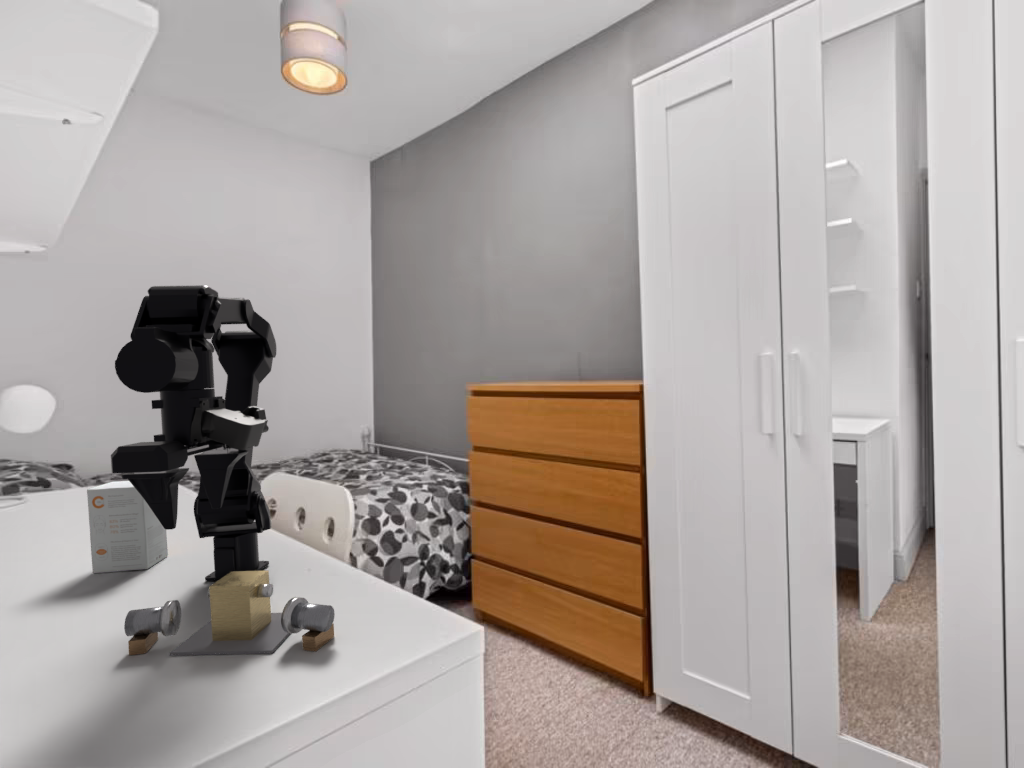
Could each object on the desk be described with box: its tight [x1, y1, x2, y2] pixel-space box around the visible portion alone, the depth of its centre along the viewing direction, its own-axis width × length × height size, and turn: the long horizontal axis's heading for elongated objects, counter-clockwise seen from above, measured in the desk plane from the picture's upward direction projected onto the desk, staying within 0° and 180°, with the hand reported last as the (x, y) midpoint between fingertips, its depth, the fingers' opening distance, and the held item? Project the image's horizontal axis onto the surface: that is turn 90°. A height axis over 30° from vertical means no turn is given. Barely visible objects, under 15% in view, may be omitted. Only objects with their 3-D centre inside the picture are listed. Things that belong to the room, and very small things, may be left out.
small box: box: [86, 480, 169, 574], centre depth 87 cm, size 8×6×13 cm
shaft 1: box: [124, 599, 182, 656], centre depth 60 cm, size 4×4×5 cm
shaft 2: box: [281, 596, 335, 652], centre depth 59 cm, size 4×4×5 cm
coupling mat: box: [169, 612, 291, 656], centre depth 62 cm, size 9×11×1 cm
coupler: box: [207, 570, 274, 641], centre depth 62 cm, size 4×7×6 cm, turn 88°
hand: (195, 518), depth 67 cm, fingers open, 9 cm apart
